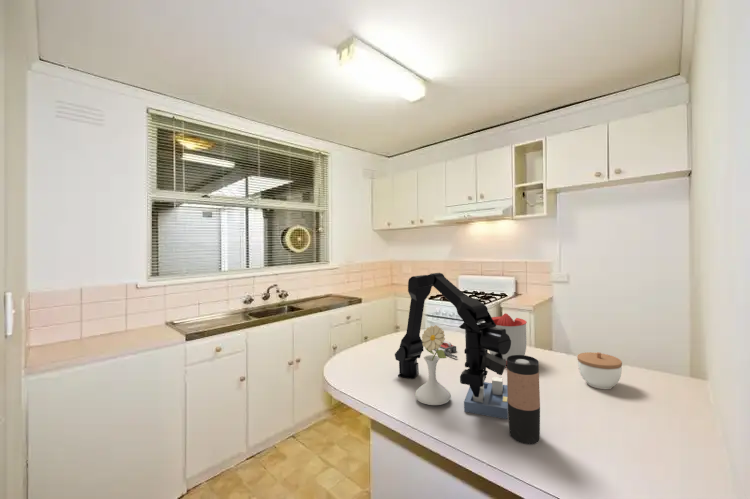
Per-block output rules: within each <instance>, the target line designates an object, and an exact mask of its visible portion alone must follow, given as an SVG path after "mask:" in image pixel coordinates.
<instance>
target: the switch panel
mask: <svg viewBox="0 0 750 499" xmlns="http://www.w3.org/2000/svg"><path fill="white" fill-rule="evenodd" d="M463 400H464V401H463V412H466V413H471V414H476V415H481V416H486V417H487V416H488V417H491V418H492V417H493V418H499V419H505V420H508V419H509V415H508V392H507V384H503V395H496V394H492V382H485V381H484V401H483V403H481V402H475V401H473V392H472V390H471V388H470V386H469V388H468V390H467V392H466V396H465V398H464V399H463Z"/></svg>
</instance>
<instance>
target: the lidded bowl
mask: <svg viewBox="0 0 750 499" xmlns="http://www.w3.org/2000/svg"><path fill="white" fill-rule="evenodd" d="M576 357H577V366H578V370H579V375H580V376H581V377H582V379H583V380H584V381H585V382H586V383H587V385H588V386H589V387H592V388H595V389H598V390H611V389H612V388H613V387H614V386H616V385H618V383H619V381H620V380H621V377H622V366H623V361H622V360H621V359H620V358H618V357H616V356H613V355H610V354H605V353H602V352H581V353H578V354H577V356H576Z"/></svg>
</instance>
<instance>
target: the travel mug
mask: <svg viewBox="0 0 750 499" xmlns="http://www.w3.org/2000/svg"><path fill="white" fill-rule="evenodd" d="M539 366H540V362H539V360H538V359H537V358H535V357H533V356H529V355H526V354H525V355H512V356H509V357H508V358H507V365H506V373H507V374H506V378H507V379H506V380H507V381H506V382H507V384H506V385H507V392H508V426H509V428H508V429H509V436H510V437H511V439H513V440H515V441H516V442H518V443H520V444H523V445H535V444H537V443H538V442H540V438H541V430H540V429H541V398H540V397H541V396H540V392H541V391H540V371H539V370H540V369H539V368H540V367H539Z"/></svg>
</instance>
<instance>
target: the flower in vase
mask: <svg viewBox="0 0 750 499" xmlns="http://www.w3.org/2000/svg"><path fill="white" fill-rule="evenodd" d="M421 340H422V342H423V343H422V345H423V348H425V350H426V351H427V353H430V355H429V354H428V355H426V356H424V357H423V360H424V361H425V363H426V365H427V369H428V379H427V381H425V382H424V383H423V384H422V385H420V386H419V387H418V388H417V389H416V391H415V394H414V395H415V399H416V400H417V401H418V402H420V403H422V404H424V405H429V406H442V405H445V404H447V403H449V401H450V400H451V398H452V395H451V392H450V391H449V390H448V389H447V388H446V387H445V386H444V385H443V384H441V383H440V382H439V381H438V379H437V374H436V373H437V372H436V371H437V364H438V362H439V360H440V359H447V355H445V353H444V351H443V350H438V349H439V348H440V347H441V345H442V344H443V342H444V341H446V338H445V331H444V330H443V329H442V328H441V327H439V326H438V325H430V326H429V327H426V329H425V330H423V333H422V334H421ZM434 349H436V350H437V351H436V350H435V353H434ZM431 354H432V355H431Z"/></svg>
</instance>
